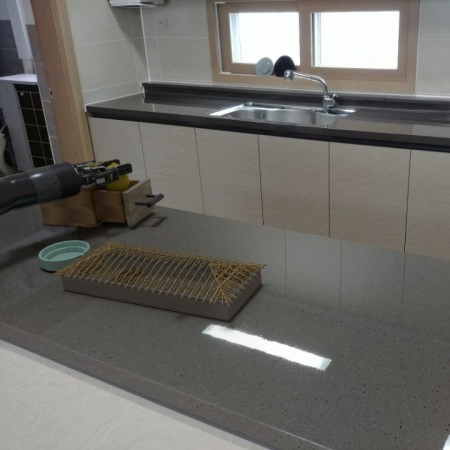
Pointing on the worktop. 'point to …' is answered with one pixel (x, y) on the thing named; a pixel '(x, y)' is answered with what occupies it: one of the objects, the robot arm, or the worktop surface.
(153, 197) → the drawer
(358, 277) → the worktop surface
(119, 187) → the lemon
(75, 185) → the robot arm
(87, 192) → the cabinet
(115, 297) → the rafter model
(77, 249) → the bowl
